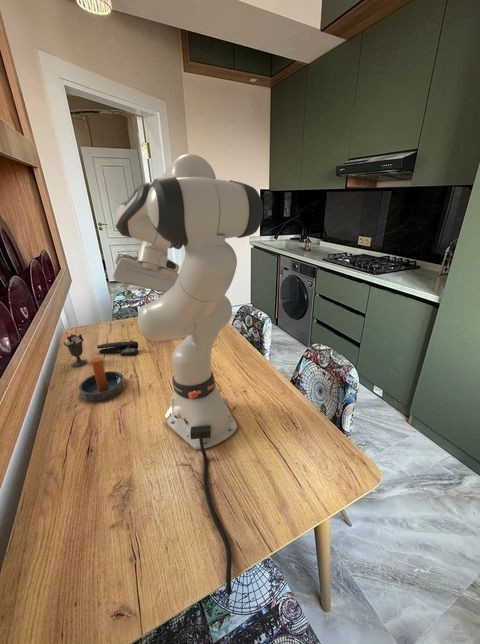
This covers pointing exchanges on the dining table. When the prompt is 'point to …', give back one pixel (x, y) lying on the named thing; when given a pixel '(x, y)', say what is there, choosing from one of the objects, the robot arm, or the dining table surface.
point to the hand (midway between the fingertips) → (142, 301)
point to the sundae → (75, 348)
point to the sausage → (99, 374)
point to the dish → (93, 395)
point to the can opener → (120, 348)
